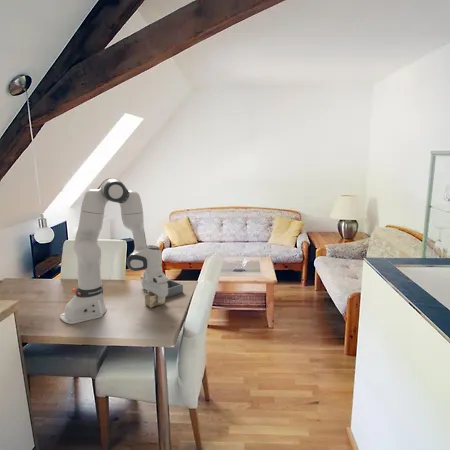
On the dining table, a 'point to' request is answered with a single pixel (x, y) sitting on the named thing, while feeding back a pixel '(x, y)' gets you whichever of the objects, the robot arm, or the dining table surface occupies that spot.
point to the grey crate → (174, 288)
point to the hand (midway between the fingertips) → (155, 300)
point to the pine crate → (153, 300)
